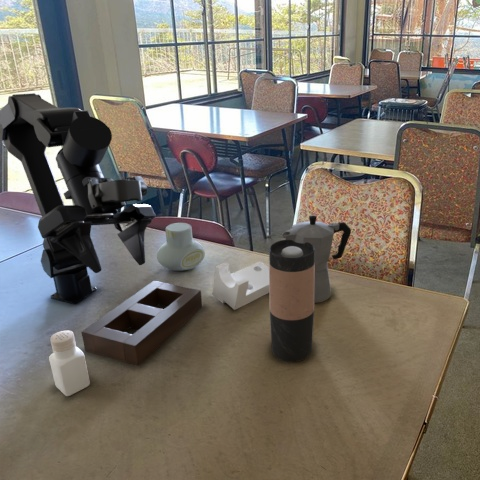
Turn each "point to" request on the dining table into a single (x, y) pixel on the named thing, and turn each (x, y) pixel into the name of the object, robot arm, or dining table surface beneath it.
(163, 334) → the stand
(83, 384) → the salt shaker
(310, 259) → the travel mug
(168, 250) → the air freshener
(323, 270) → the coffeepot
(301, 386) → the dining table surface
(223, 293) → the bracket
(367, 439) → the dining table surface
